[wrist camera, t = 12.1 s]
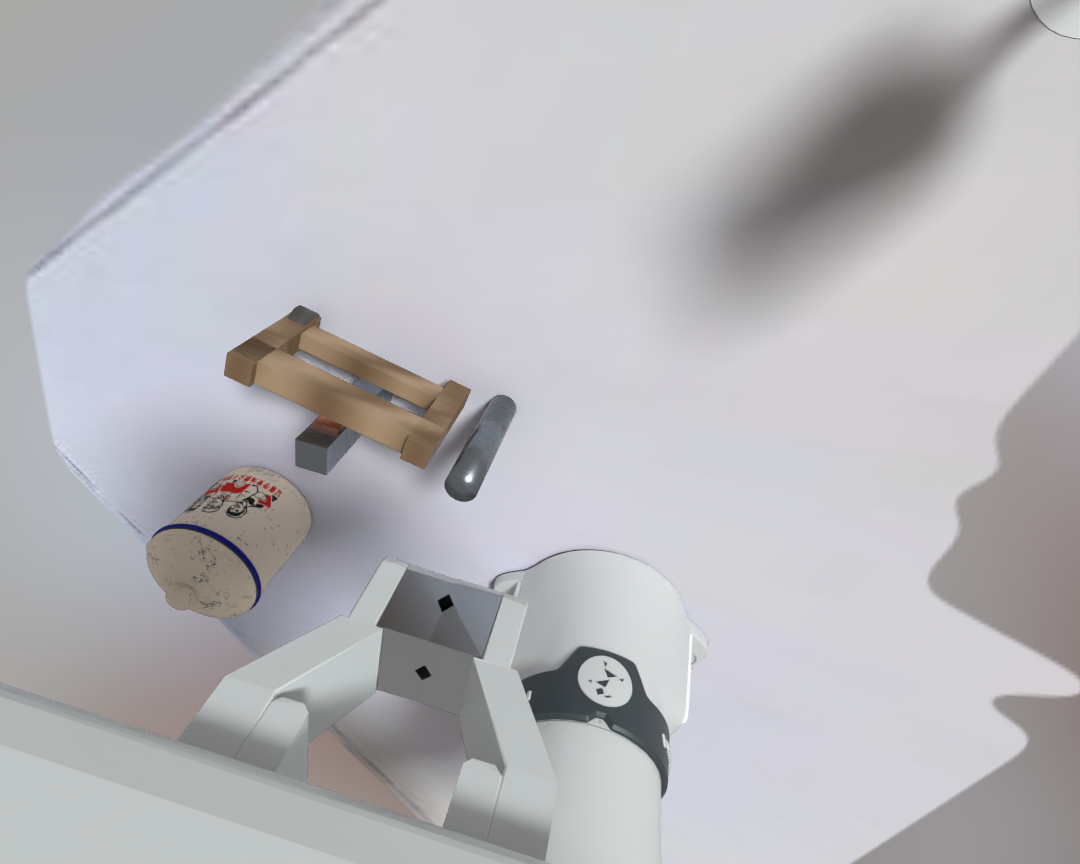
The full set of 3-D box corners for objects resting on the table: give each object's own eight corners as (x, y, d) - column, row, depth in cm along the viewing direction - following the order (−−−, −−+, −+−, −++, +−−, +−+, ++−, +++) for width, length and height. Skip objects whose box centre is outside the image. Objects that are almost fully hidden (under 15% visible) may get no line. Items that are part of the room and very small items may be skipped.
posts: (510, 434, 45) (471, 519, 37) (366, 392, 46) (295, 465, 37) (518, 399, 43) (480, 479, 35) (369, 355, 44) (295, 423, 35)
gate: (475, 381, 43) (434, 443, 36) (463, 410, 44) (421, 475, 37) (304, 299, 42) (228, 346, 35) (297, 330, 43) (222, 381, 36)
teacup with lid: (296, 461, 50) (204, 556, 41) (328, 546, 55) (252, 650, 45) (175, 461, 53) (62, 550, 43) (215, 542, 58) (120, 639, 48)
